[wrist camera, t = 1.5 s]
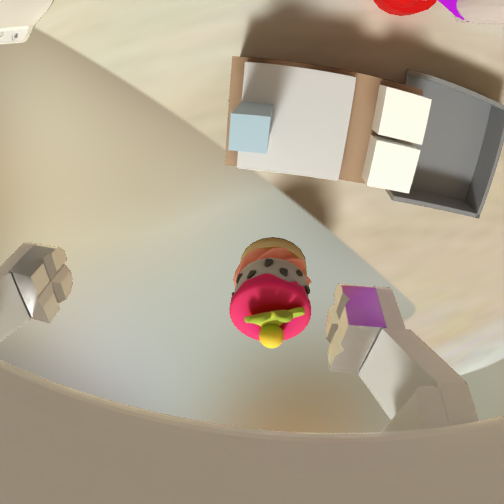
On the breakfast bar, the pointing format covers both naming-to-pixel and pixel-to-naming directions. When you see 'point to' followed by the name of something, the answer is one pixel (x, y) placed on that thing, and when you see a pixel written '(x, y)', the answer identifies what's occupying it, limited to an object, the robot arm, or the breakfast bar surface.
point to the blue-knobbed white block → (292, 120)
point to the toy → (459, 3)
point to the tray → (455, 148)
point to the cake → (271, 292)
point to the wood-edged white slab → (359, 114)
